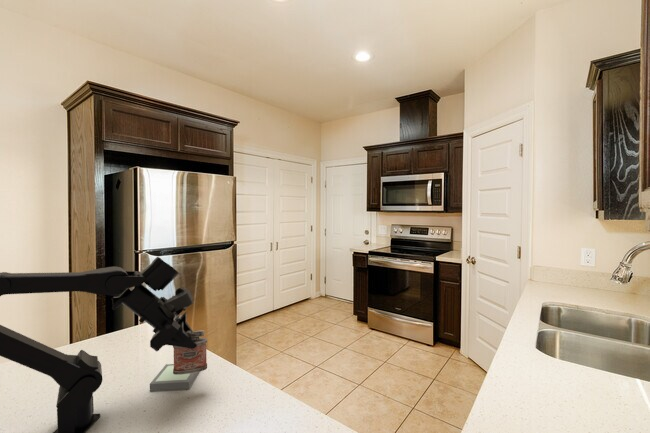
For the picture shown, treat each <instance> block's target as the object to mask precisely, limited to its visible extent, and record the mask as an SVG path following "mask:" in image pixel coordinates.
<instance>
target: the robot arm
mask: <svg viewBox="0 0 650 433" xmlns="http://www.w3.org/2000/svg"><path fill="white" fill-rule="evenodd" d="M179 275H180V272H178V270H177V269H175V268H174V266H172V265H170V264H169V263H167V262H165V261H164V260H163V259H162V258H161V257H159V256H156V257H155V258H154V259H152V262H151V263H149V265H148V266H146V268H145V269H144V270H142V271H139V270H138V271H136V270H125V269H124V268H122V267H120V266H107V267H102V268H96V269H91V270H87V271H80V272H79V271H77V272H68V271H67V272H29V273H28V272H20V273H19V272H14V273H12V272H6V271H2V272H1V271H0V297H1V296H4V295H5V296H6V295H21V294H23V295H25V294H44V293H45V294H47V293H68V292H69V293H70V292H80V293H81V292H82V293H87V294H92V295H93V294H94V295H103V296H113V297H112V298H111V300H112V307H111V309H112V310H116V309H117V308H118V307H119V306H120V305H121V304H122V305H123V306H125V307H126V308H127V309H129V310H130V311H132V312H133V314H134V315H136V316H138V317H139V319H138V322H140V323H141V324H143V323H144V322H146V323H147V324H148V325H149V326H150V327H152V328H153V329H152V333H154V334H153V335H152V337H151V339H150V340H149V347H150V348H151V349H153V350H154V351H155V352H159V351H160V350H161V349H162V348H163V347H165V346H172V347H173V346H179V347H185V348H191V349H194V348H195V347H196V346H197V344H196V343H195V342H194V341H193V340H192V339H191V338H190V337H189V335H188V334H187V333H186V332H187V331H191V332H194V331H193V329H192V328H191V326H190V325H189V324H188V320H187V316H188V314H187V311H186V309H187V308H188V307H189V306H191V305H192V304H194V301H195V299H194V297H193V295H192V294H191V292H192V291H191V290H189V289H188V288H184V287H182V286H180V287H178V288H176V289H175V292H174V293H175V294H174V295H172V296H171V297H169V298H166V297H164V296H161V297H158V296H157V295H156V294H155V293H153V292H152V291H151V290H153V291H155V292H156V291H163V290H164V289H165V288H166V287H168V285H170V283H172V281H173V280H174V279H175V278H176V277H178V276H179ZM143 284H146V286H148V287H149V289H148V288H147V287H146V286H144V285H143ZM150 289H151V290H150ZM183 311H186V312H184V313H183V314H181V313H182V312H183ZM194 338H196V337H194ZM0 357H2V358H4V359H7V360H9V361H12V362H15V363H17V364H20V366H21V365H22V366H24V367H27V368H29V369H31V370H33V371H36V372H38V373H41V374H44V375H46V376H48V377H50V378H52V379H53V381H54V382H55V383H56V384H58V386H59V387H58V392H57V400H56V405H55V406H56V418H57V419H56V420H57V423H56V424H57V427H56V429H55V430H54V431H53V432H52V433H86V432H87V431H89V430H90V428H91V427H92V426H93V425H94V424H95V422H97V420H98V419H99V418H100V417H101V413H94V412H95V411H94V396H93V395H94V393H95V392H96V391H97V390H99V388H100V387H101V385H102V383H103V370H102V363H101V361H100V360H99V358H98V356H97V355H91V354H89V353H88V352H86V351H85V350H83V349H81V350H79V352H78V353H77V354H67V353H64V352H61V351H59V350H57V349H55V348H52V347H51V346H48V345H46V344H44V343H41V342H40V341H38V340H35V339H33V338H31V337H28V336H26V335H23V334H22V333H19V332H17V331H15V330H13V329H11V328H8V327H6V326H4V325H2V324H0Z"/></svg>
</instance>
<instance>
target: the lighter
mask: <svg viewBox="0 0 650 433" xmlns="http://www.w3.org/2000/svg"><path fill="white" fill-rule="evenodd" d="M186 333H187V334H188V335H189V337H190V338H191V339H192V340H193V341H194V342H195V343H196V344H197V346H196V347H195V348H194V349H191V348H185V347H179V346H172V348H173V364H174V369H173V374H174V375H180V374H190V373H195V372H199V371H200V372H203V371H205V370H207V369H208V363H207V362H208V361H207V343H208V338H207V337H204V336H205V330H204V329H202V330H194V331H193V332H191V331H187V332H186ZM194 337H196V338H194ZM200 372H199V373H200Z"/></svg>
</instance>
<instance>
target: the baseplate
mask: <svg viewBox="0 0 650 433" xmlns="http://www.w3.org/2000/svg"><path fill="white" fill-rule="evenodd" d="M173 369H174V363H173V364H172V363H169V364H168V363H167V364H165V365H164V366H163V367H162V369H161V370H160V371H159V372H158V373H157V374H156V376H155V377H154V378H153V379H152V381H151V382H150V383H149V392H165V391H182V390H183V391H184V390H190V389H191V387H192V385H193V384H194V382H195V380H196V379H197V377H198V376H199V373H201V371H199V372H195V373H190V374H180V375H174V374H173Z"/></svg>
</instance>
